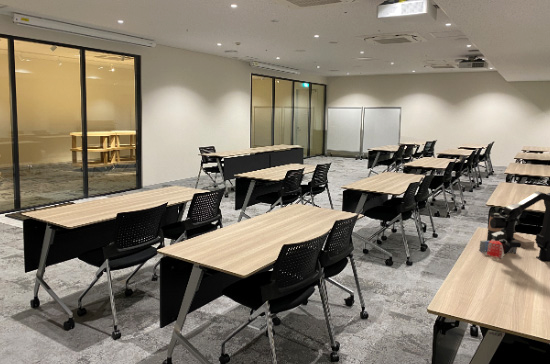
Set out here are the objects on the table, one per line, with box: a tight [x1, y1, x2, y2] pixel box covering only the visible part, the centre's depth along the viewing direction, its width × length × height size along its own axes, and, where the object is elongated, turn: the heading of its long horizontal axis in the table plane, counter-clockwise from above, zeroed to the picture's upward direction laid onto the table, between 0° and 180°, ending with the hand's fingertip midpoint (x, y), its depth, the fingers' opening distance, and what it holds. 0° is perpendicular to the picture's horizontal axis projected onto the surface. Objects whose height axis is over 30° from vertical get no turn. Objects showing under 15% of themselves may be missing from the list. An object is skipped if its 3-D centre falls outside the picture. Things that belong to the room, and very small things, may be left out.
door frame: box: [478, 240, 518, 254], centre depth 260 cm, size 2×21×6 cm, turn 88°
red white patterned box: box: [486, 239, 506, 259], centre depth 255 cm, size 8×8×8 cm
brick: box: [513, 233, 535, 249], centre depth 277 cm, size 17×8×5 cm, turn 18°
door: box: [484, 240, 512, 254], centre depth 260 cm, size 3×16×6 cm, turn 83°
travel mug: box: [486, 211, 503, 241], centre depth 276 cm, size 8×8×20 cm
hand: (505, 254), depth 247 cm, fingers closed
